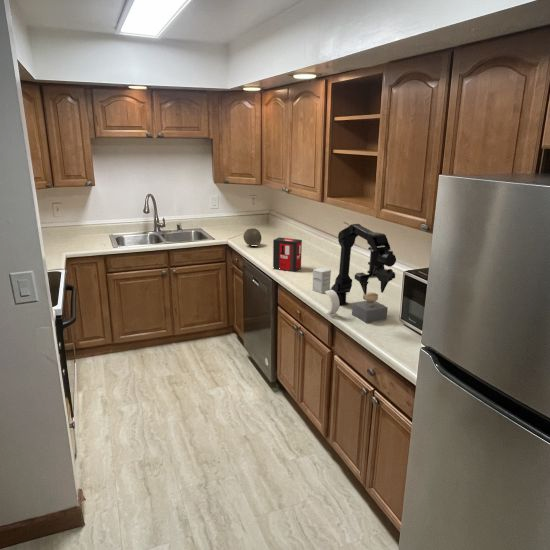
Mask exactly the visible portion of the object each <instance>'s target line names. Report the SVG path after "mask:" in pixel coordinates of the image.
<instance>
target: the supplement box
mask: <svg viewBox="0 0 550 550" xmlns="http://www.w3.org/2000/svg"><path fill="white" fill-rule="evenodd" d="M312 270H313V272H312V291H315V292H317V293H320V294H325V291H329V290H331V276H332V275H331V273H332V271H331V269H327V268H325V267H317V268H315V269H312Z"/></svg>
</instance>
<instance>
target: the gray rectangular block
mask: <svg viewBox="0 0 550 550" xmlns="http://www.w3.org/2000/svg"><path fill="white" fill-rule="evenodd" d="M366 303H367V300H363V301H362V300H361V301H356V302H355V301H354V302H352V306H351V315H352V316H354V317H355V318H357V319H358V320H360V321H362V322H363V323H365V324H369V323H374V322H380V321H386V320H388V319H387V317H388V306H386V305H385V304H383V303H380V302H378V301H377V300H376V301H374V304H373V306H367V305H366Z"/></svg>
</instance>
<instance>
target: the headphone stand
mask: <svg viewBox="0 0 550 550" xmlns="http://www.w3.org/2000/svg"><path fill="white" fill-rule="evenodd" d="M324 294H326V295H327V296H328V298H329V301H330V303H331V304H330V310H329V311H324V312H323V315H325V316H327V317H329V318H334V317H337V316H338V313H337V312H338V311H339V309H340V305H339V298H338V295H337V294H336V292H335V291H333V290H331V289H330V290H329V291H325V292H324Z"/></svg>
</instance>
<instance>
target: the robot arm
mask: <svg viewBox="0 0 550 550" xmlns="http://www.w3.org/2000/svg"><path fill="white" fill-rule="evenodd" d="M337 237H338V244H339V246H340V255H339V257H340V258H339V271H338V272H339V273H338V275H337V277H336V278H335V280H334V284H333V285H332V286H330V290H333V291H335V292H336V294H337V295H338V298H339V306H343V305H345V306H346V305H349V302H347V293H350V292H351V288H352V287H353V279H354V280H356V281H357V282H359V285H360V287H361V289H362V292H363V294H365V295H366V293H367V292H368V284H369V279H376V278H377V281H379V282H380V293H384V292H385V289H386V287H387V285H388V284H389V282H390V281H393V279H396V272H394V270H393V269H392V268H391V267H393V266H394V265H395V264H396V262H397V258H396V255H395V253H394V251H393V250H391V245H390V243H389V240H388V237H387V235H386V234H385V233H382V232H377V231H376V232H375V231H372V230H370V229H369V228H366V227H365V226H363V225H361V224H359V223H352V224H350V225H348V226H347V227H346V228H344V229H342V230H340V231H339V233H338V234H337ZM357 237H360V238H362V239H364V240H365V241H366V242H367V243H366V244H367V245H369V247H368V248H367V250H369V251H370V254H369V255H370V256H369V262H368V263H367V265H369V269H368V270H367V271H366V272H367V274H366V273H364V272H356V273H355V274H354V277H353V279H352V278H351V277H350V275H349V274H350V266H351V265H350V263H351V253H352V247H353V246H354V245H355V243H356V239H357ZM385 266H387V267H389V269H387V268H386V269H385Z"/></svg>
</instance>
